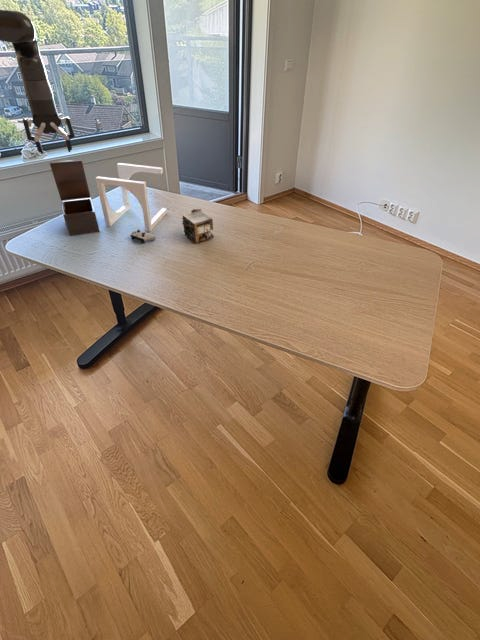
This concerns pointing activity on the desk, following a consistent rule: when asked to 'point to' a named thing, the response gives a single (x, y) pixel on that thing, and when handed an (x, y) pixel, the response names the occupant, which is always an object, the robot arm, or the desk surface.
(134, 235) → the game controller
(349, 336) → the desk surface
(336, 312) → the desk surface
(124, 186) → the white arched cube frame
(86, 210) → the storage box
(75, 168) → the lid
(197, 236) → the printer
